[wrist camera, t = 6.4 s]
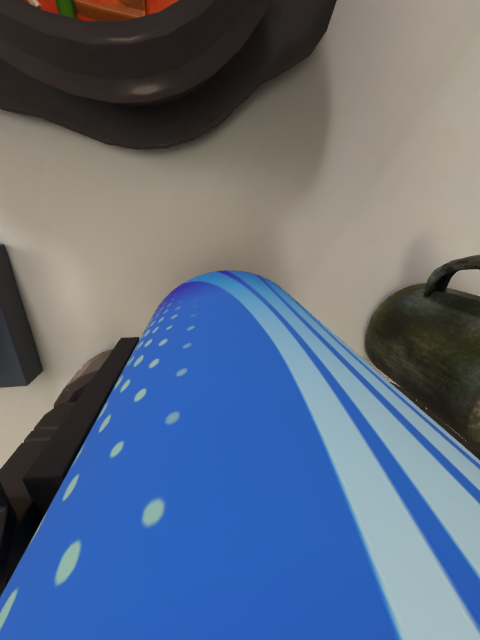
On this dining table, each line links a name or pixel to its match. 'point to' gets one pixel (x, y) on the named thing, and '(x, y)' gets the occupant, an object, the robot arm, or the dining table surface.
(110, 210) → the dining table surface
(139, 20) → the casserole
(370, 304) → the dining table surface
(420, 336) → the mug
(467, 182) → the dining table surface
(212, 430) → the beer can
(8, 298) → the button base
